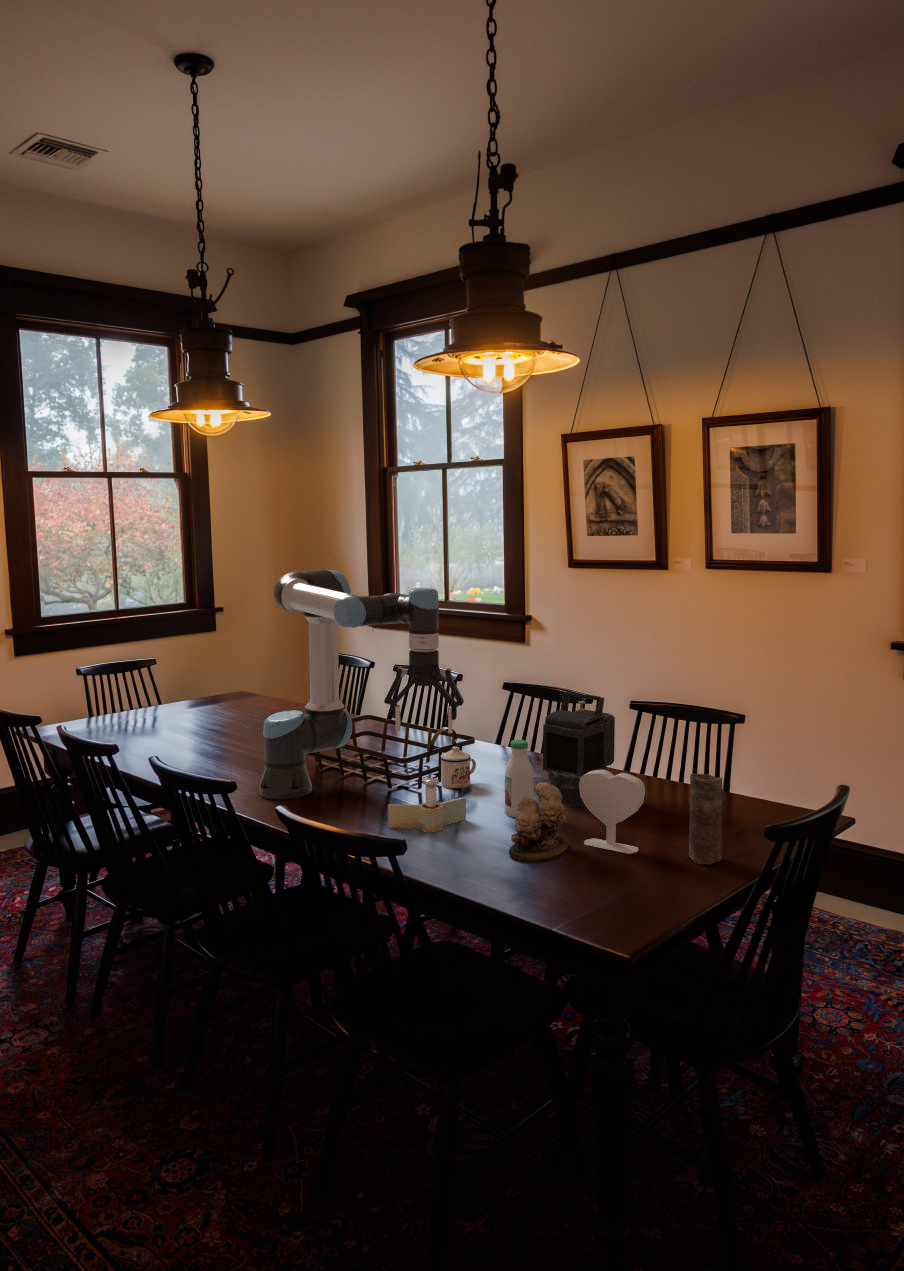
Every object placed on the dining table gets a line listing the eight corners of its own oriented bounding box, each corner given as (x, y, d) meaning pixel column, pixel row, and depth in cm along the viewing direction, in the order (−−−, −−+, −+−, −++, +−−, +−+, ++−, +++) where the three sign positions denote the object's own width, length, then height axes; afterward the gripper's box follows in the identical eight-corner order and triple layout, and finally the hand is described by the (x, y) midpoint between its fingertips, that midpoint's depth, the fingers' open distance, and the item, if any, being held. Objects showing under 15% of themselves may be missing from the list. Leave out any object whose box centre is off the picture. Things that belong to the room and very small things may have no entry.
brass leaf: (386, 831, 221) (386, 808, 220) (390, 823, 227) (390, 800, 226) (441, 833, 219) (441, 810, 218) (444, 824, 225) (444, 802, 224)
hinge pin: (422, 830, 221) (421, 782, 219) (424, 825, 225) (424, 777, 223) (438, 831, 220) (437, 782, 219) (440, 826, 224) (439, 778, 223)
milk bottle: (536, 810, 236) (536, 739, 234) (529, 819, 229) (529, 745, 226) (509, 808, 239) (509, 737, 236) (501, 816, 231) (501, 743, 229)
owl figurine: (540, 835, 217) (542, 769, 215) (581, 847, 209) (582, 778, 207) (496, 855, 203) (497, 785, 201) (538, 868, 196) (539, 795, 194)
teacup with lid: (452, 791, 254) (452, 752, 253) (434, 784, 262) (434, 746, 260) (484, 784, 261) (484, 746, 260) (466, 777, 269) (466, 740, 267)
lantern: (537, 800, 245) (537, 696, 242) (573, 786, 258) (574, 687, 255) (581, 811, 235) (582, 702, 231) (617, 796, 248) (618, 693, 244)
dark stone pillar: (683, 854, 203) (685, 771, 201) (714, 853, 204) (716, 770, 202) (695, 866, 196) (697, 780, 193) (726, 865, 196) (729, 779, 194)
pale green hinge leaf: (428, 834, 218) (428, 811, 217) (414, 827, 223) (414, 805, 222) (472, 822, 227) (472, 800, 226) (457, 816, 232) (457, 794, 231)
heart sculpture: (645, 848, 207) (646, 775, 205) (637, 855, 203) (638, 780, 201) (585, 836, 216) (586, 766, 213) (576, 842, 211) (577, 771, 209)
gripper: (372, 650, 217) (373, 733, 220) (471, 652, 214) (471, 736, 217) (378, 646, 224) (379, 726, 227) (474, 648, 221) (473, 729, 224)
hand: (424, 731), depth 222 cm, fingers open, 13 cm apart
